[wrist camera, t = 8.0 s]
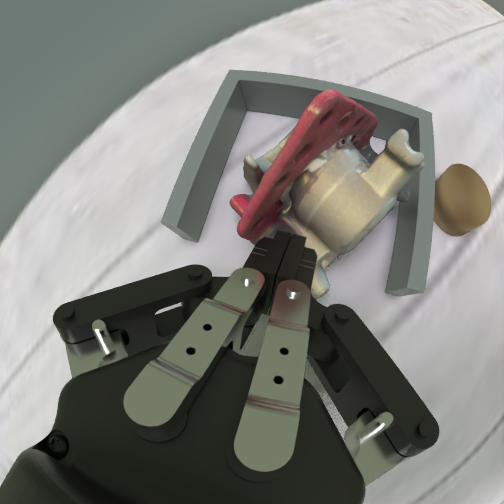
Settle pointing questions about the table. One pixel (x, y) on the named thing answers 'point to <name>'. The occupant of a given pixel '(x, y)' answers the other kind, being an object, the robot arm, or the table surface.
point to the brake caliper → (326, 181)
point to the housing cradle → (293, 104)
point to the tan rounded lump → (460, 200)
